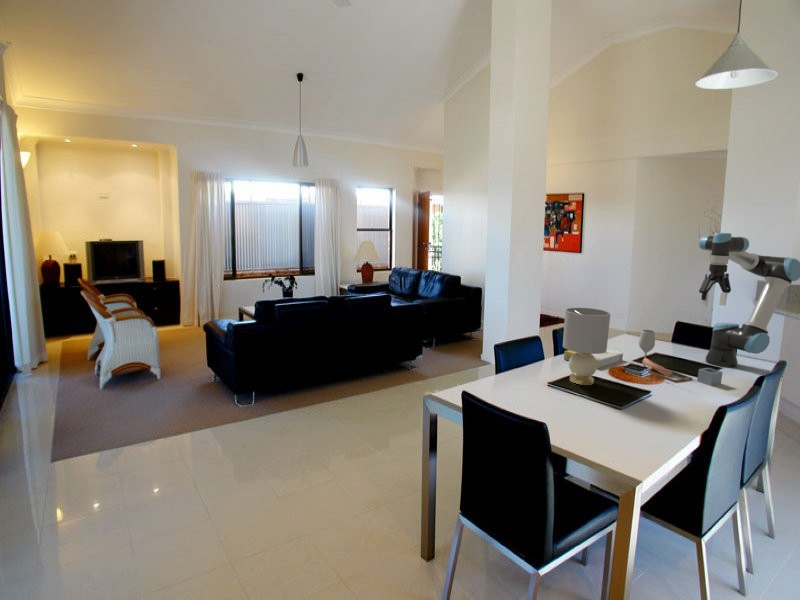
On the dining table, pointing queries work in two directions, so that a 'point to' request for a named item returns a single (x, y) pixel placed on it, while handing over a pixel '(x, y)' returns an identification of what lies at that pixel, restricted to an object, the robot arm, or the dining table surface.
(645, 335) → the wineglass
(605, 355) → the cereal box
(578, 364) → the lamp
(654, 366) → the tan rounded bar
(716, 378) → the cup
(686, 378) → the tray
